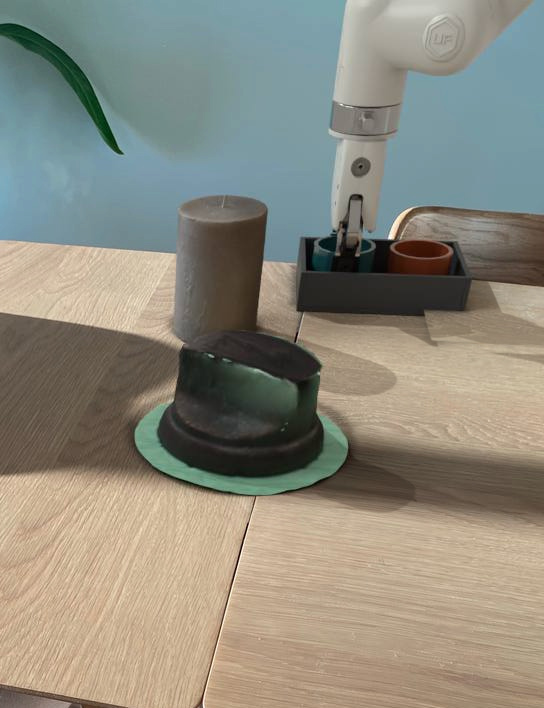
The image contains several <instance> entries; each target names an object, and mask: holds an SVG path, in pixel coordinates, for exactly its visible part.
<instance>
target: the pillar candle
mask: <svg viewBox="0 0 544 708" xmlns="http://www.w3.org/2000/svg"><path fill="white" fill-rule="evenodd" d="M268 212H269V209H268V206H267V204H266V203H265V202H262V200H261V201H260V200H259V199H256V198H253V197H249V196H241V195H233V194H219V195H218V194H217V195H216V194H215V195H206V196H200V197H199V196H197V197H194V198H190V199H188V200H186V201H183V203H181V204H179V205H178V207H177V236H176V237H177V238H176V258H175V259H176V261H175V280H174V281H175V282H174V305H173V307H174V308H173V331H174V334H175V335H176V337H177V338H178V339H179V340H181V341H182V342H185V343H187V342H188V341H190V340H192V339H194V338H197V337H200V336H203V335H206V334H210V333H213V332H217V331H225V330H244V331H252V332H258V327H257V322H258V313H259V303H260V294H261V286H262V285H261V284H262V274H263V266H264V257H265V247H266V235H267V223H268Z"/></svg>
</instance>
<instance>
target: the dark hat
mask: <svg viewBox="0 0 544 708" xmlns="http://www.w3.org/2000/svg"><path fill="white" fill-rule="evenodd" d="M178 358H179V359H178V374H177V378H176V384H175V389H174V396H173V400H172V401H170V402H167V403H164V404H161V405H158V406H156V407H155V408H154V409H152V410H151V411H149V413H147V414H145V415H144V416H143V418H142V419H140V421H139V422H138V425H136V427H135V430H134V442H135V445H136V448H137V450H138V451H139V453H140V454H141V455H142V456H143V457H144V459H146V460H147V461H148V462H149V463H150V464H151V466H153V467H154V468H156V469H157V470H159V471H161V472H162V473H166V474H167V475H170V476H172V477H174V478H178V479H180V480H184V481H187V482H189V483H193V484H195V485H199V486H203V487H206V488H211V489H214V490H217V491H222V492H231V493H233V494H239V495H245V496H247V495H248V496H270V495H275V494H279V493H282V492H286V491H291V490H297V489H301V488H305V487H308V486H311V485H313V484H314V483H316V482H318V481H320V480H323V479H325V478H327V477H330V476H333V475H334V474H335V473H336V472H337V471H338V470H339V469H340V467H341V466H343V464H344V463H345V461H346V459H347V456H348V451H349V443H348V439H347V437H346V435H345V434H344V433H343V431H342V430H341V429H340V427H339V425H336V424H335V422H333V420H331V419H330V418H328V417H327V416H325V415H323V414H321V413H320V412H318V411H317V409H318V396H319V391H320V385H321V375H322V371H321V370H322V369H323V366H324V365H323V362H321V360H320V359H319V358H318V357H317V356H316V355H315V353H314V352H312V351H310V350H309V348H306V346H305V345H304V344H300V343H298V342H294V341H291V340H289V339H287V338H285V337H283V336H278V335H273V334H269V333H265V332H258V331H257V332H252V331H244V330H225V331H217V332H213V333H210V334H206V335H203V336H200V337H197V338H194V339H192V340H190V341H188V342H185V343H183V344H182V346H181V348H180V350H179V353H178Z"/></svg>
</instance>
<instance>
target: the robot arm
mask: <svg viewBox="0 0 544 708" xmlns="http://www.w3.org/2000/svg"><path fill="white" fill-rule="evenodd" d="M535 2H536V0H346V2H345V7H344V13H343V21H342V28H341V33H340V34H341V35H340V42H339V50H338V57H337V66H336V73H335V81H334V88H333V95H332V101H331V102H332V103H331V110H330V115H329V116H330V118H329V125H328V131H327V133H328V134H329V135H330V136H332V137H334V138H337V144H336V150H335V151H336V152H335V158H334V167H333V175H332V184H331V197H330V219H331V227H332V232H331V233H330V235H329V236H332V235H337V241H336V250H335V255H332V262H331V268H330V272H352V273H358V270H359V264H360V258H361V257H360V248H361V240H362V238H363V232H364V231H363V230H365V231H368V234H372V233H374V232H375V230H376V228H377V220H378V213H379V207H380V206H379V205H380V201H381V200H380V199H381V192H382V185H383V179H384V171H385V165H386V156H387V145H388V143H387V141H388V140H389V139H393V138H395V137H396V136H398V130H399V125H400V119H401V113H402V107H403V101H404V95H405V90H406V84H407V83H406V82H407V78H408V72H409V71H411V72H415V73H419V74H424V75H427V76H433V77H434V76H435V77H448V76H452V75H455V74H458V73H461V72H462V71H463V70H465V69H467V68H468V67H469V66H470V65H472V64H473V62H475V60H477V59H478V57H479V56H480V55H481V54H482V53H483V52H484V51H485V50H486V49H487V48H488V47H489V46H490V45H491V44H492V43H493V42H494V41H495V40H496V39H497V38H498V37H499V36H500V35H501V34H502V33H503V32H504V31H505V30H506V29H507V28H508V27H510V25H511V24H512V23H514V22H515V20H517V19H518V18H519V17H520V16H521V15H522V14H523V13H524V12H525V11H526V10H528V8H529V7H530V6H532V5H533V3H535ZM342 235H346V238H343V241H342Z"/></svg>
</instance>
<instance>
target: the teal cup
mask: <svg viewBox="0 0 544 708" xmlns="http://www.w3.org/2000/svg"><path fill="white" fill-rule="evenodd" d="M321 237H322V238H319V239H317V240H316V241H315V242H314V248H313V255H312V263H311V270H310V271H323V272H330V268H331V262H332V255H335V250H336V241H337V235H332V236H330V235H325V236H321ZM343 238H346V235H342V241H343ZM369 239H370V238H365V237H362V240H361V248H360V257H361V258H360V264H359V270H358V273H372V267H373V262H374V256H375V250H376V245H375V243H374V242H372V241H371V240H369Z"/></svg>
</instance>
